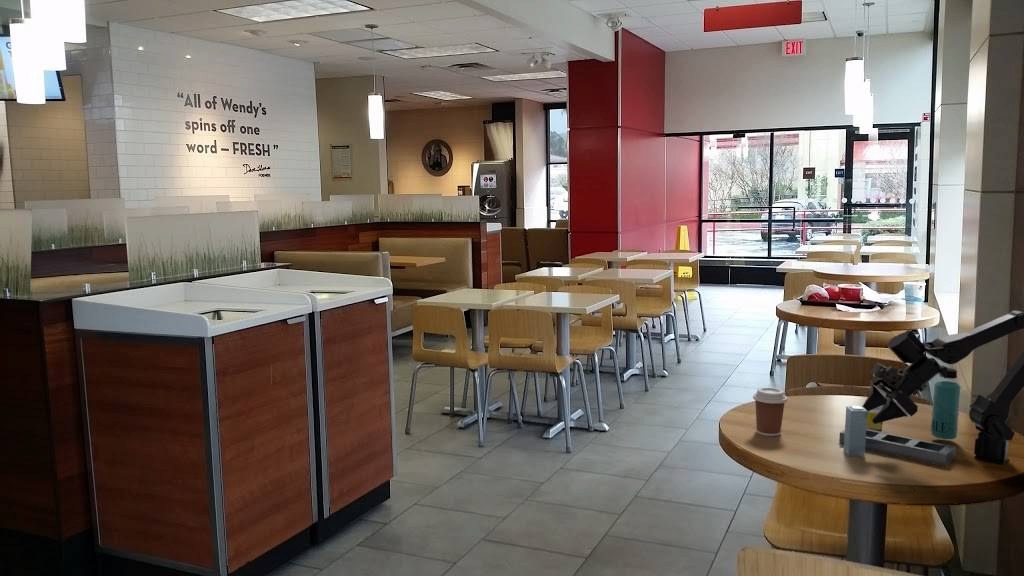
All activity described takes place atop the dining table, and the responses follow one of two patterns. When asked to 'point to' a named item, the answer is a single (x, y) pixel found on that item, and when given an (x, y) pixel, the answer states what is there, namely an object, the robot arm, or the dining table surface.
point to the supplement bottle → (870, 416)
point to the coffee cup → (769, 410)
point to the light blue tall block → (855, 431)
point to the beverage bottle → (946, 407)
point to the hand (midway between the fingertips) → (867, 417)
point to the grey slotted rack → (907, 447)
